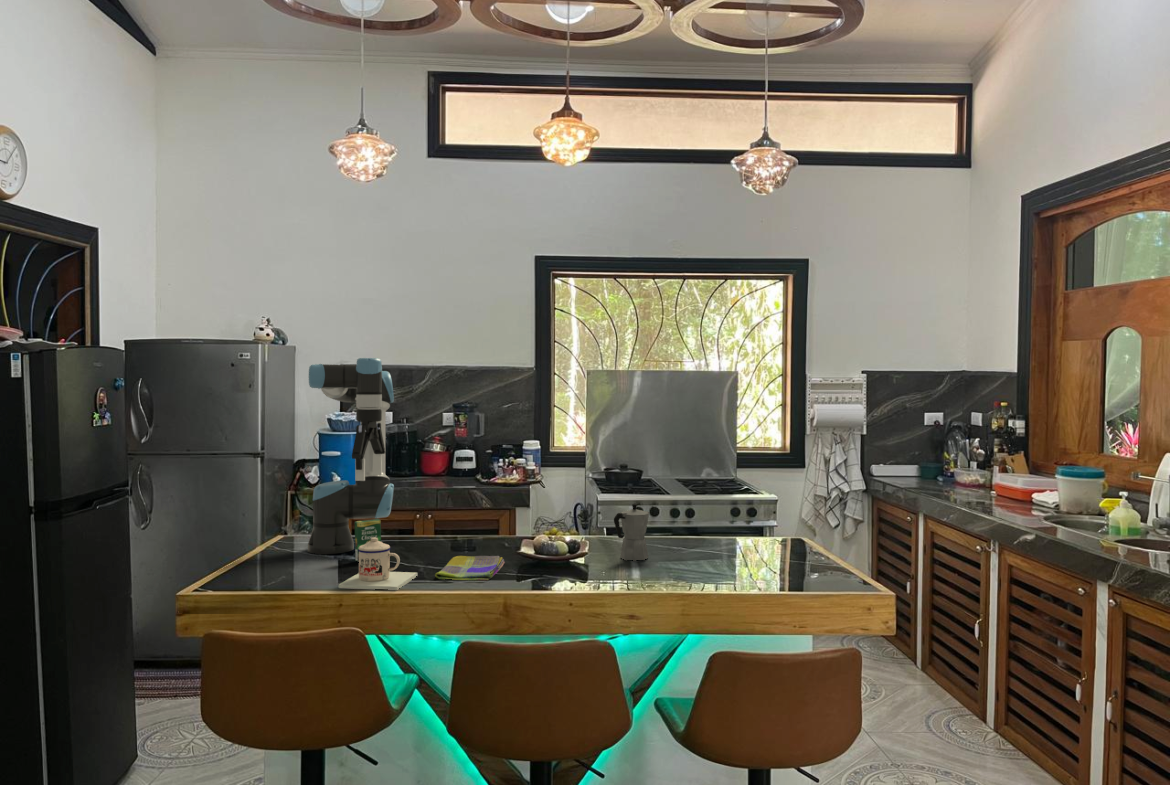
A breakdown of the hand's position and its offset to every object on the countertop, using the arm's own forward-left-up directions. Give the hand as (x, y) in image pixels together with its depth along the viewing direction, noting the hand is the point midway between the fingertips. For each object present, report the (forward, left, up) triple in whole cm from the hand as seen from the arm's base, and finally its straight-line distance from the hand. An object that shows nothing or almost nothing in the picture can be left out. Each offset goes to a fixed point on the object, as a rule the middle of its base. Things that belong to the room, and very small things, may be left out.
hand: (368, 477), depth 251 cm
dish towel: (-4, +31, -29) cm, 43 cm away
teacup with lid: (+14, +9, -28) cm, 32 cm away
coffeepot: (-28, +79, -29) cm, 88 cm away
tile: (+14, +9, -28) cm, 33 cm away
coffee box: (-12, -5, -29) cm, 31 cm away
